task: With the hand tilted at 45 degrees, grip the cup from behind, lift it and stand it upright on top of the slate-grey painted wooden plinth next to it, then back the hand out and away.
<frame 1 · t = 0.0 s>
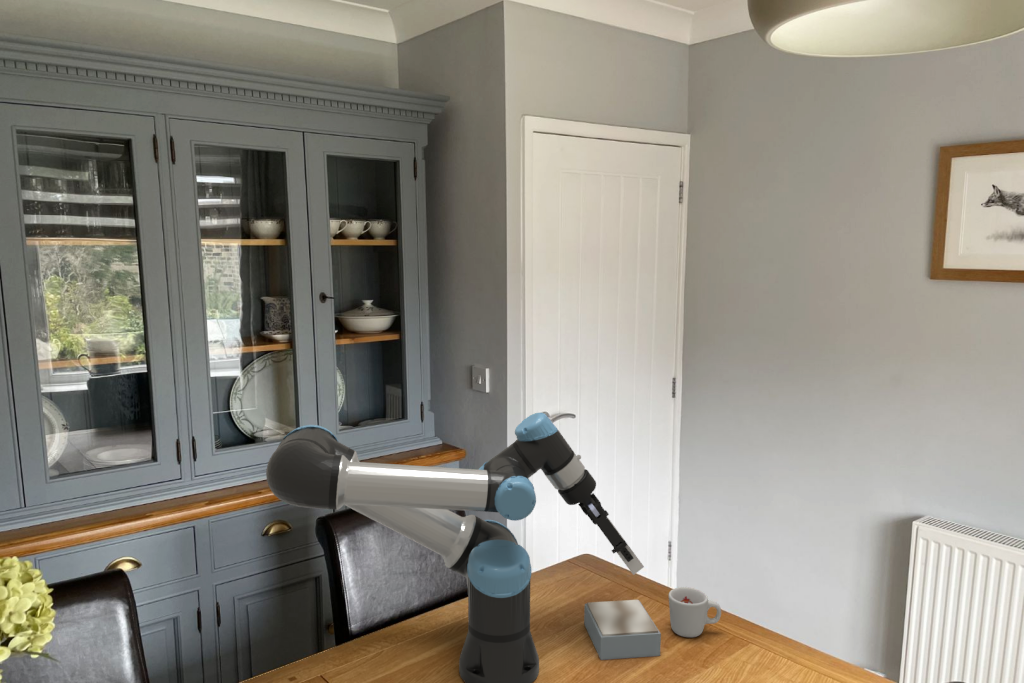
hand: (628, 556, 156), 15 cm above the table, tool tilted 35°, fingers open, 13 cm apart
cup: (693, 632, 155), on the table
plinth: (620, 639, 152), on the table
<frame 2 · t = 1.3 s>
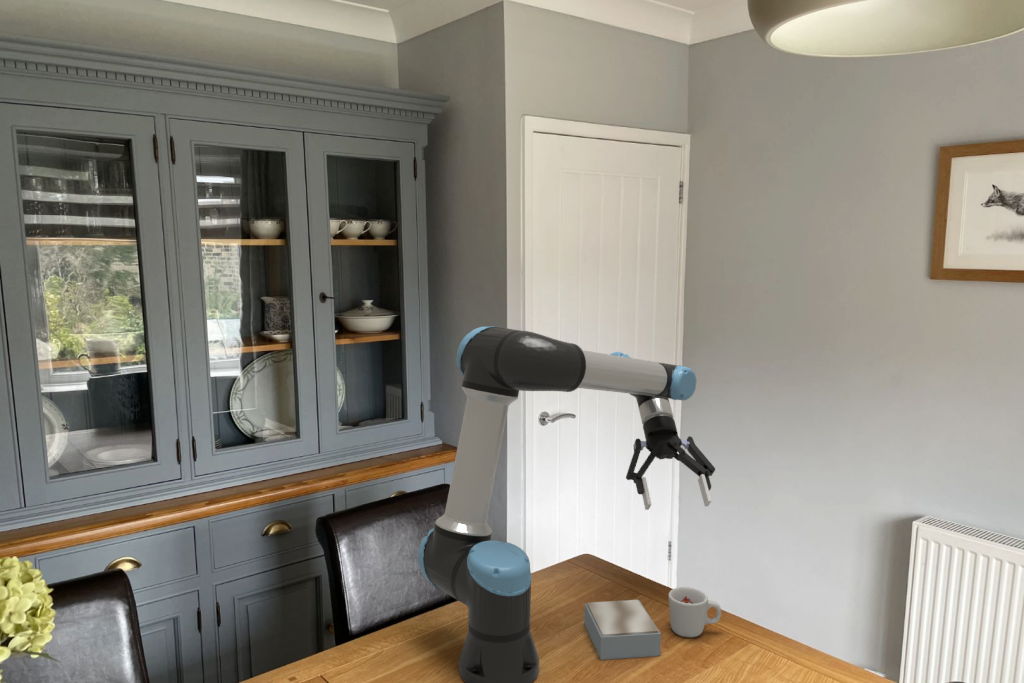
hand: (678, 505, 163), 23 cm above the table, tool tilted 45°, fingers open, 13 cm apart
nothing on the table moved.
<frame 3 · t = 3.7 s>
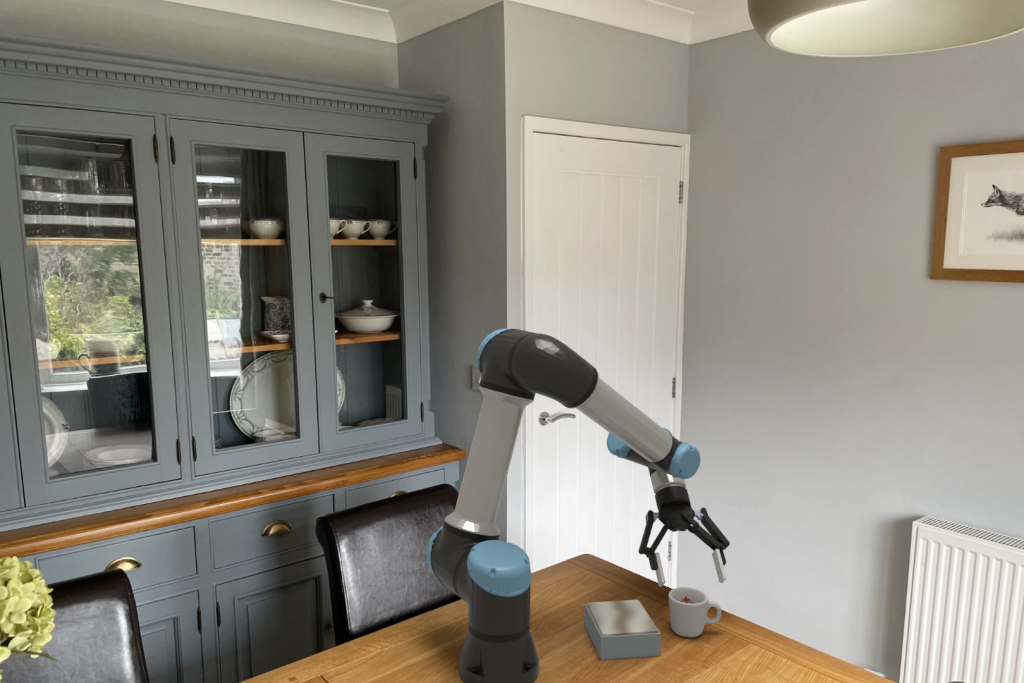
hand: (693, 582, 158), 9 cm above the table, tool tilted 45°, fingers open, 13 cm apart
nothing on the table moved.
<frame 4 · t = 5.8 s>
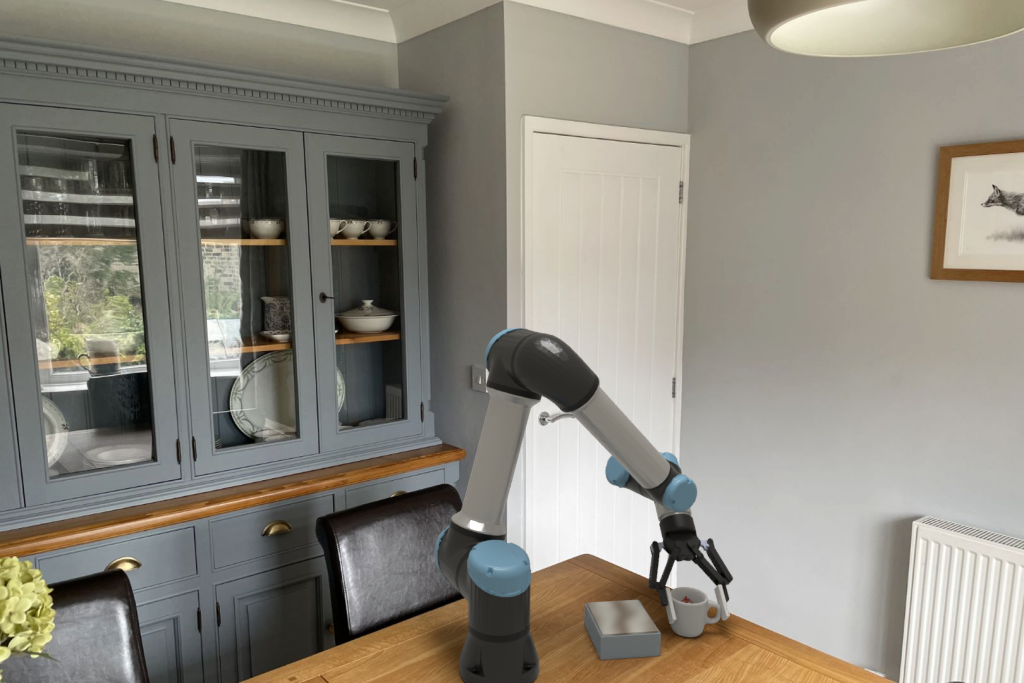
hand: (699, 620, 152), 4 cm above the table, tool tilted 45°, fingers closed on cup, 11 cm apart
cup: (693, 632, 155), on the table, touching gripper
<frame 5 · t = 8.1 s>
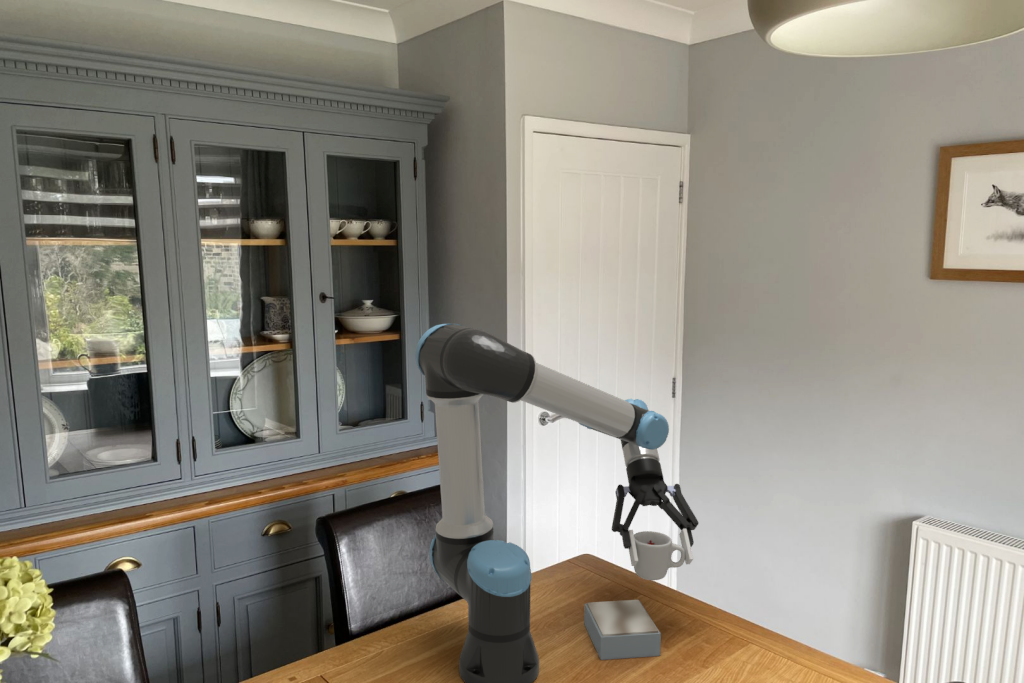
hand: (662, 562, 149), 17 cm above the table, tool tilted 45°, fingers closed on cup, 11 cm apart
cup: (657, 576, 152), point 13 cm above the table, touching gripper
when the fingers open (11 cm above the table, at t = 10.4 s): cup drops 1 cm, resting on plinth.
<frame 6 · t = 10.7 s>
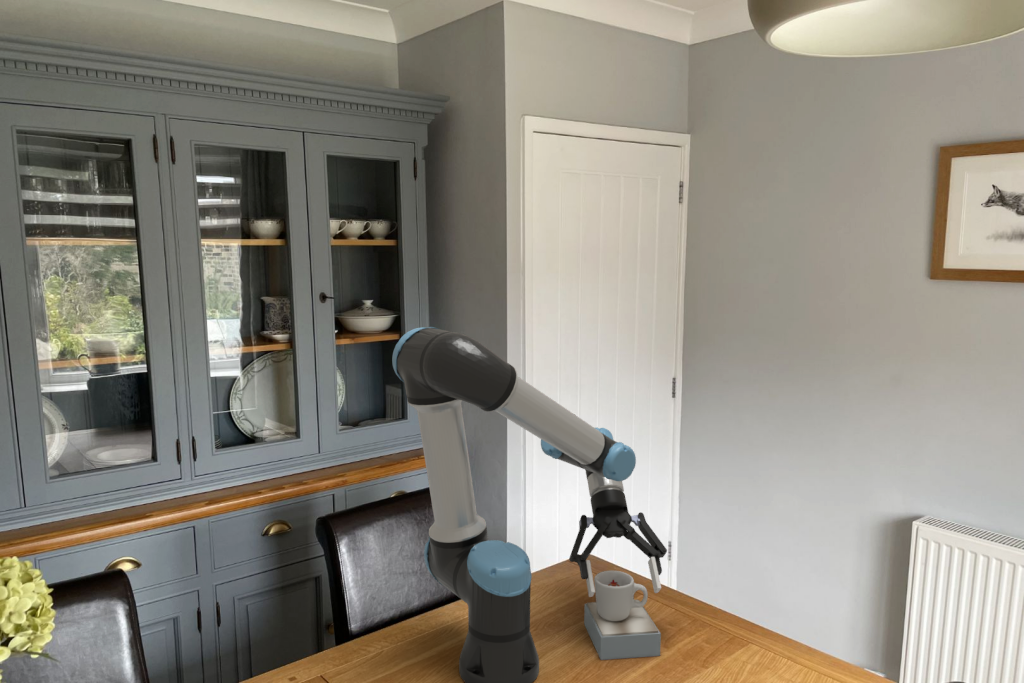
hand: (625, 592, 149), 11 cm above the table, tool tilted 45°, fingers open, 13 cm apart
cup: (620, 617, 152), point 5 cm above the table, touching plinth
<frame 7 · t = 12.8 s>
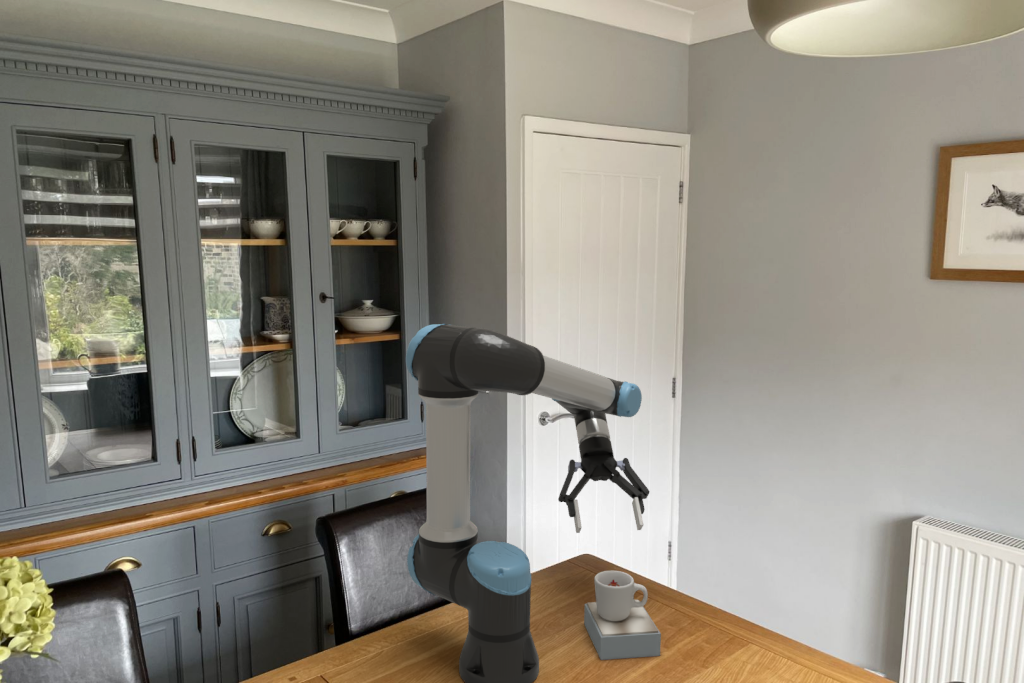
hand: (609, 529, 160), 20 cm above the table, tool tilted 45°, fingers open, 13 cm apart
nothing on the table moved.
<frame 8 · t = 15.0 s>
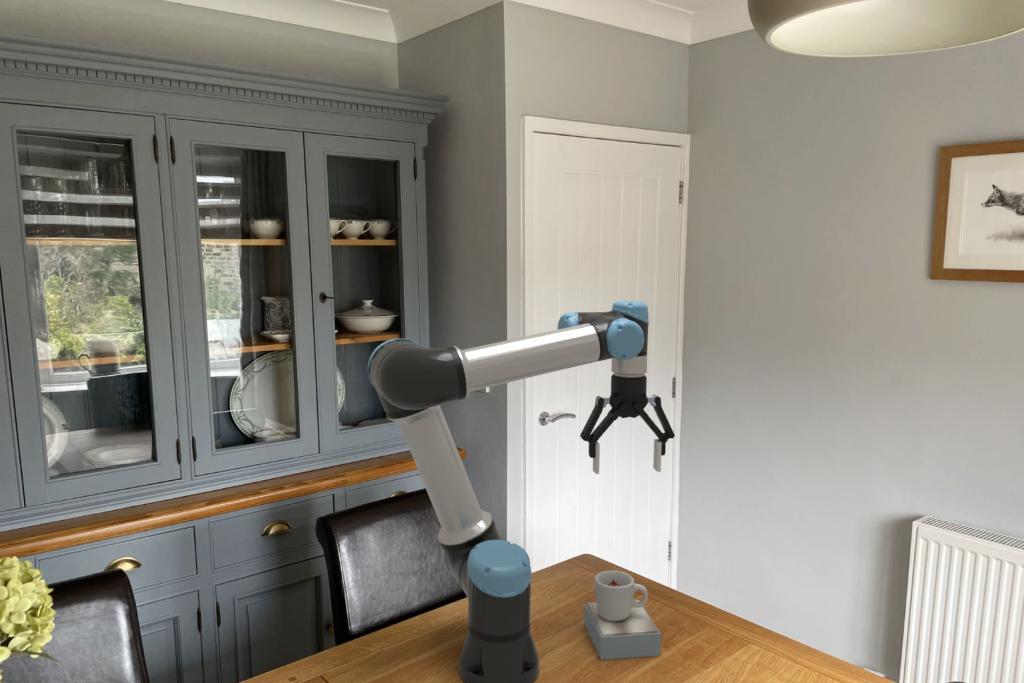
hand: (626, 471, 161), 32 cm above the table, tool pointing down, fingers open, 13 cm apart
nothing on the table moved.
at the end: cup inside the target area on the plinth (0.2 cm from its centre), point 4.8 cm above the plinth's base; cup tilted 0°; the gripper is holding nothing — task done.
